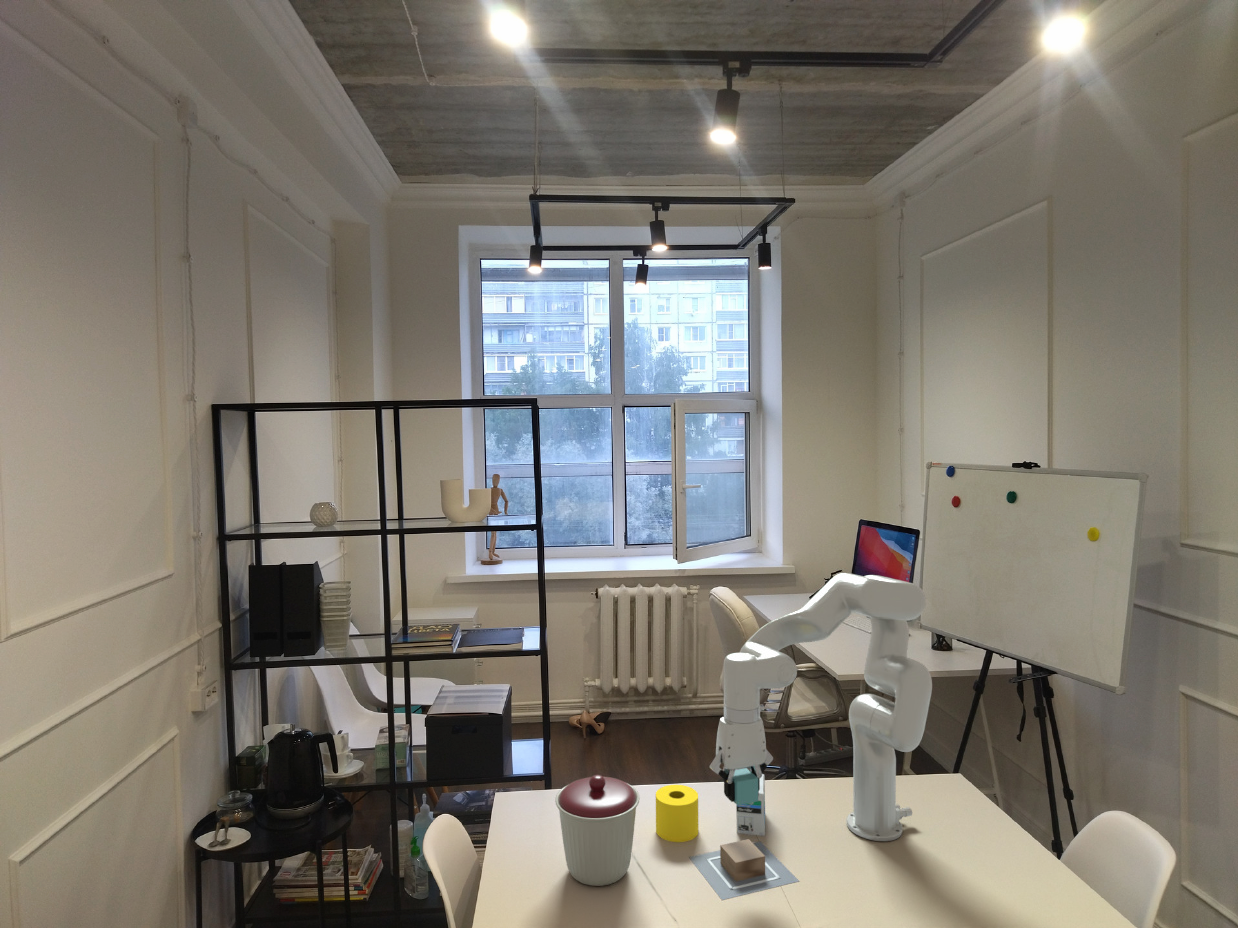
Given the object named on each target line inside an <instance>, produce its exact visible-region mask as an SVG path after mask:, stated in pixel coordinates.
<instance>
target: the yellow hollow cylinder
mask: <svg viewBox="0 0 1238 928" xmlns="http://www.w3.org/2000/svg"><path fill="white" fill-rule="evenodd" d="M655 833H656V834H657V836H658V837H659V838H661V839H662V840H665V841H667V842H672V843H684V842H688V841H692V840H694V839H696V838H697V836H698V835H699V793H698V792H697V791H696V790H695V789H694V788H692V787H691V786H687V785H684V784H668V785H664V786H661V787H660V788H658V789H657V790H656V792H655Z"/></svg>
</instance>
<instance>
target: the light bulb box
mask: <svg viewBox="0 0 1238 928" xmlns="http://www.w3.org/2000/svg"><path fill="white" fill-rule="evenodd" d="M765 778H766V777H765V774H763V773H762V777H761V778H760V790H759V796H758V801H757V802H752V803H747V804H742V805H736V804H735V805H736V806H735V807H736V809H735V810H736V833H737V834H742V835H743V834H744V835H753V836H766V835H765V834H766V794H765V793H766V790H765V789H766V788H765V787H766V784H765V783H766V779H765Z"/></svg>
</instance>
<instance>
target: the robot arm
mask: <svg viewBox="0 0 1238 928" xmlns="http://www.w3.org/2000/svg"><path fill="white" fill-rule="evenodd" d="M926 599H927V598H926V594H925V593H924V591H923V589H922V588H921V587H920V586H918V585H917V584H915V583H914V582H913V583H912V582H908V581H904V580H901V579H896V578H892V577H888V576H882V575H877V574H876V575H875V574H868V575H864V576H863V575H859V574H854V573H850V572H841V573H838V574H836V575H834V576H833V577H831V579H829V580H828V581H827V582H826V583H824V585H823V586H822V587H821V588H820V589H819V590H818V591H817V592H816V593H815V594H814V595H813V596H812V597H811V598H810V599H809V600H808V601H807V602H806V603H805V604H804V605H802V607H800V608H799V609H798V610H796V611H794V612H791V613H788V614H785V615H783V616H781V617H778V618H777V619H774V620H772V621H769V622H768V623H766V624H765V625H763V626H762V627H760V628H759V629H758V630H757V631H756V632H755V633H754V634H752V635H751V636H750V637H749V638H748V639H747V641H746V642H745V643H744V644H743V646H742V647H741V648H740V650H739V652H734V653H729V654H728V655H726V656H725V658H723V659H724V660H723V716H722V717H720V719H719V722H718V728H717V733H716V744H715V747H716V748H715V757H714V758H713V759H712V762H711V763H710V765H709V769H711V770H712V771H713V772H714V773H715V774H717V775H719V777H721V778H722V779H723V793H724V796H725V797H726V798H727V799H728V800H729V801H730V802H731V803H734V801H735V784H734V783H733V777H734V773H735V770H739V769H744V768H749V769H750V770H749V771H751V772H752V773H753V774H754V775H755V776H756V777H757V778H758V796H759V790H760V778H761V777H762V774H763V773H764V771H765V770H766V769H767V767H768V766H769V764H771V763H772V762H773V760H774V757H773V756H772V754H771V753H770V752H769V751H768V749H767V741H766V733H765V727H764V722H763V718H762V717H761V712H763V711H765V706H764V704H762V703H761V704H760V690H762V689H772V690H773V689H783V688H786V687H788V686H790V685H791V684H792V683H793V682H794V681H795V680H796V677H797V676H798V675H797V674H798V667H797V664H796V662H795V660H794V659H793V658H792V657H790V656H789V655H788V654H786V653H784V652H781V651H780V650H782V649H785V648H786V647H788V646H791V645H796V644H803V643H804V644H805V643H813V642H820V641H824V640H827V639H828V638H829V637H830V636H831V635H832V634H833V633H834V632H835V631H836V630H837V629H838V628H839V627H840V626H841V625H842V624H843V623H844V622H845V621H846V620H847V619H848V618H849V617H850V616H851V615H852V614H858V615H862V616H864V617H868V618H869V619H870V624H871V631H870V639H869V644H868V649H867V654H866V658H865V664H864V670H863V671H864V672H863V676H864V680H865V682H866V684H867V685H868V686H869V687H871V688H873V689H874V690H877V691H879V692H881V693H883V694H886V695H888V696H891V697H894V698H895V701H894V702H893V701H892V700H890V699H887V698H884V697H881V696H879V695H876V694H873V693H863V694H860V695H857V696H856V697H855V698H854V699H853V700H852V702H851V703H850V705H849V709H848V710H849V711H848V718H849V719H848V720H849V724H850V725H849V726H850V730H851V736H852V745H853V746H852V747H853V763H852V764H853V766H852V767H853V768H852V769H853V772H852V773H853V774H852V775H853V780H852V781H853V784H852V785H853V787H852V788H853V800H852V801H853V803H852V804H853V805H852V806H853V810H852V812H850V813H849V814H848V815H847V817H846V825H847V828H848V829H849V830H850V832H852V833H853V834H855V835H857V836H858V837H860V838H863V839H866V840H870V841H875V842H889V841H894V840H897V839H898V838H900V837H901V836H903V829H904V828H903V825H902V822H901V820H902V819H903V818H905V817H906V818H907V817H910V816H911V817H912V815H913V810H912V808H911V807H909V806H906V807H902V808H901V806H900V804H898V803H896V801H897V799H896V797H897V795H896V794H897V793H896V792H897V789H896V788H897V779H896V778H897V777H896V776H897V757H896V751H898V752H899V751H900V752H904V753H908V752H912V751H914V750H915V749H916V748H918V746H919V745H920V744H921V741H922V738H923V735H924V732H925V728H926V722H927V718H928V713H929V707H930V702H931V697H932V691H933V681H932V675H931V673H930V670H929V669H928V667H927V666H925V664H923V663H921V662H920V661H918V660H915V659H912V658H909V657H907V656H908V648H909V647H908V646H909V640H910V630H909V625H908V622H907V621H911V620H912V621H913V620H915V619H917V618H919V617H920V616H921V615H922V614H923V612H924V611H925V608H926V604H927V602H926V601H927V600H926ZM895 750H896V751H895ZM721 764H723V769H722V768H721V767H720V766H721Z"/></svg>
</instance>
